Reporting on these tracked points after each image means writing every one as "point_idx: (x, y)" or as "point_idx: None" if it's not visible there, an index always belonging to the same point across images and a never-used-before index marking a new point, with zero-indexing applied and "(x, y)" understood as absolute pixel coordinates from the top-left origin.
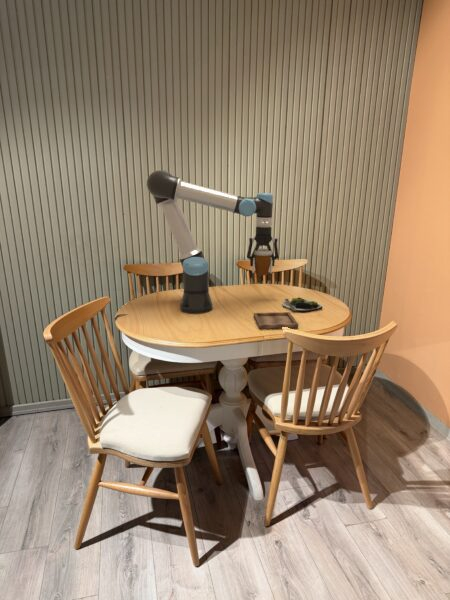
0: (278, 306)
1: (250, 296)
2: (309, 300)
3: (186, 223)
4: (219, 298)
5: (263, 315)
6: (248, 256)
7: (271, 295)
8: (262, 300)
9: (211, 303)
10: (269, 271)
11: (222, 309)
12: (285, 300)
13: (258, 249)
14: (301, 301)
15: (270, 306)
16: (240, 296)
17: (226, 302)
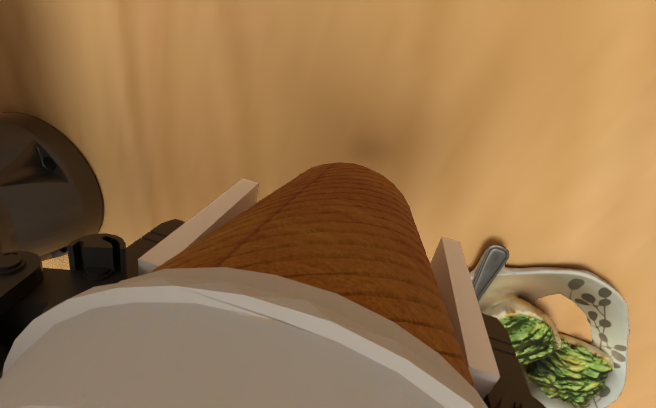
0: None
1: (336, 52)
2: (624, 318)
3: None
4: (138, 37)
5: None
6: (6, 352)
7: (496, 73)
8: (373, 168)
9: (75, 233)
10: (441, 244)
11: (144, 231)
12: (477, 269)
13: (111, 406)
14: (521, 362)
15: None
16: (271, 29)
17: (170, 134)
